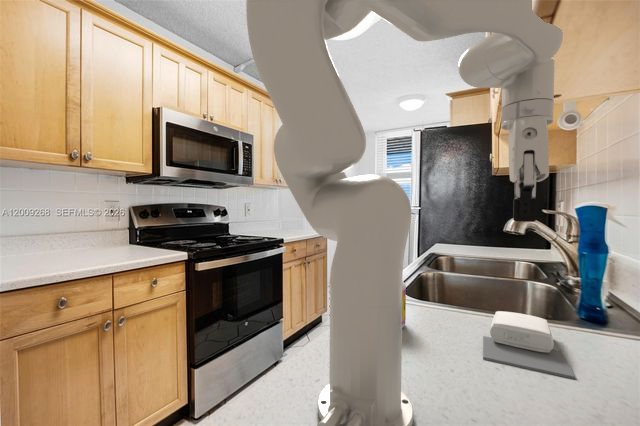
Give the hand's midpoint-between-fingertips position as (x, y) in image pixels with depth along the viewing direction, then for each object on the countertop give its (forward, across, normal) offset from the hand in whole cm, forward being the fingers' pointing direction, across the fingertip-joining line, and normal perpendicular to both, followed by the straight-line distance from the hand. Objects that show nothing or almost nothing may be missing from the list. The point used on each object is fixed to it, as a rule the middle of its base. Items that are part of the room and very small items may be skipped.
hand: (524, 221), depth 53 cm
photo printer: (+22, +4, 0) cm, 23 cm away
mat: (+25, +2, 0) cm, 25 cm away
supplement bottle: (+25, +5, +25) cm, 36 cm away
